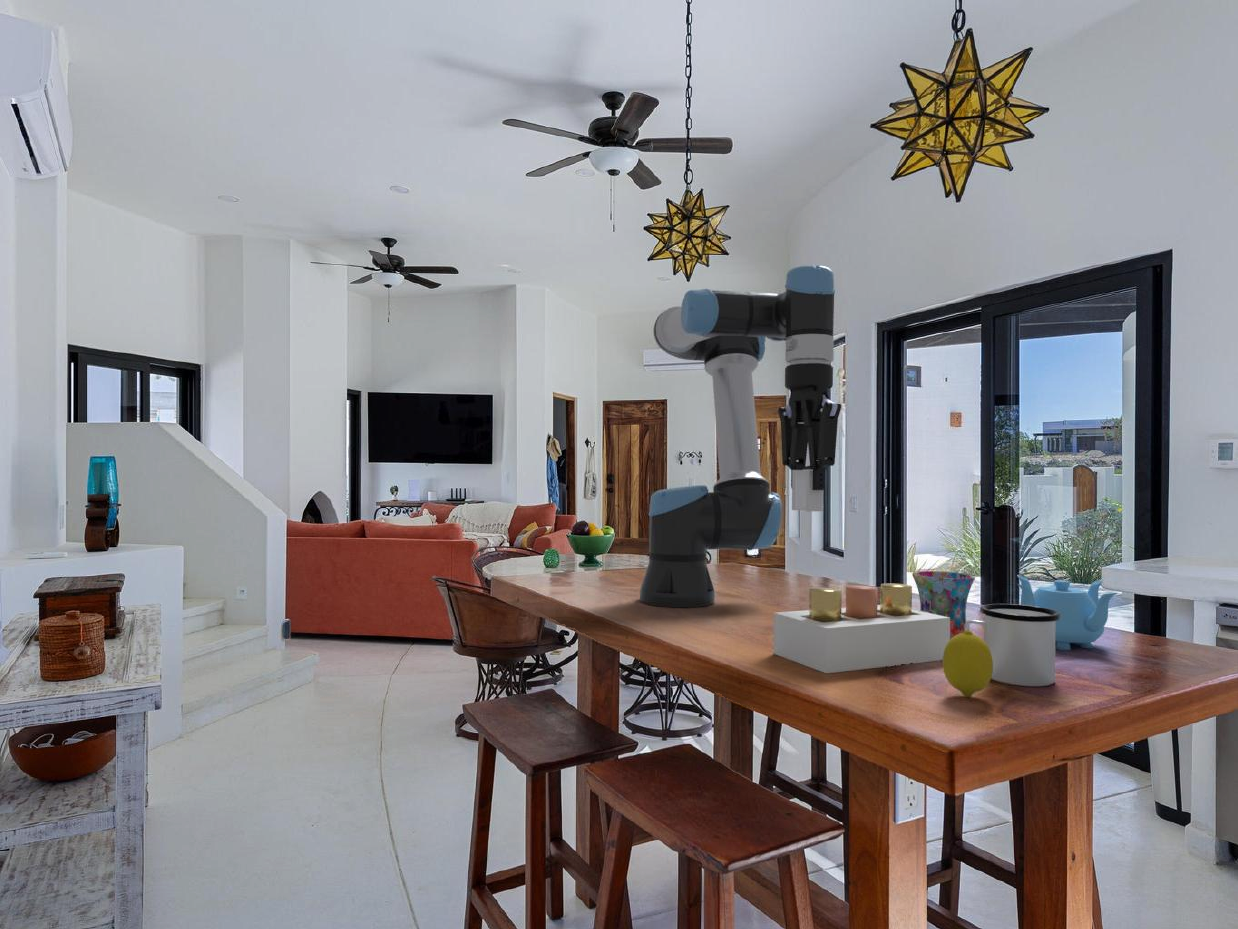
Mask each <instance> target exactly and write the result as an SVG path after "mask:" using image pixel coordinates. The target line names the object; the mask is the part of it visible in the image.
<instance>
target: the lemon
mask: <svg viewBox="0 0 1238 929" xmlns="http://www.w3.org/2000/svg"><path fill="white" fill-rule="evenodd" d="M942 670H943V674H944V676H945V678H946V681H948V683H949V684H950V686H952V687H953V688H954V689H956V690H958V691H959V692H960V693H961V694H962V695H963V696H964V697H966V698H970V697H972V696H973V695H974V694H975V693H977V692H981V691H982V690H985V688H986V687H987V686H988V685H989V683H990V682H991V680H992V679H991V677H992V673H993V660H992V655H991V652H990V649H989V647H988V645H987V644H986V642H985V641H984V639H983V638H981V637H980V636H978V635H977V634H974V633H973V631H972V630H969V631H968V630H966V631H964V632H963V633H961V634H958V635H956V636H954V637H953V638H951V639H950V640H949V642H948V643H947V645H946V647H945V650H944V655H943V660H942Z"/></svg>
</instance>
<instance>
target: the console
mask: <svg viewBox="0 0 1238 929" xmlns="http://www.w3.org/2000/svg"><path fill="white" fill-rule="evenodd" d="M949 640H950V618H949V617H945V616H940V615H936V614H932V613H927V612H923V611H920V610H917V609H914V608H912V615H909V616H897V617H894V616H890V615H886V614H882V613H880V604H877V618H872V619H860V620H859V619H855V618H852V617H848V616H846V606H845V607H841V621H836V622H824V623H822V622H818V621H815V620H811V619H809V609H806V610H793V611H792V610H791V611H780V612H779V611H778V612H773V654H774V655H777V656H779V657H782V658H784V659H787V660H789V661H793V662H794V663H798V664H801V665H803V666H805V667H809V668H812V669H813V670H817V671H819V672H822V673H825V674H833V673H842V672H843V673H844V672H850V671H851V672H852V671H859V670H868V669H877V668H886V666H887V667H892V666H893V667H895V665H896V666H902V665H901V664H905V665H910V663H913V664H920V663H921V664H923V663H929V662H930V663H931V662H938V661H943V655H944V650H945V647H946V645H947V643H948V642H949Z"/></svg>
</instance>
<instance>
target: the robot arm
mask: <svg viewBox="0 0 1238 929" xmlns="http://www.w3.org/2000/svg"><path fill="white" fill-rule="evenodd" d="M785 279H786V280H785V285H784V288H785V291H784V292H782V293H779V292H778V293H777V292H758V291H755V292H754V291H753V292H752V291H727V290H713V289H708V288H703V289H690V290H687V291H686V292H685V294H684V295H683V296H684V297H683V299H682V302H681V306H672V307H670V308H667V309H666V310H663V311H662V312H661V313H660V314H659V315H658V316H657V318H656V319H655V322H654V323H653V324H654V325H653V338H654V340H655V342H656V344H657V345H658V347H659V348H660V349H661V351H663V352H665V353H666V354H668V355H670V356H673V357H674V358H677V359H681V360H686V361H687V360H688V361H701V362H703V363H704V364H703V365H704V371H705V372H706V373H707V375H710V377H711V378H712V389H713V402H714V404H713V405H714V415H715V429H716V430H715V431H716V443H717V444H716V445H717V456H718V458H717V460H718V472H719V473H718V474H719V479H718V480H717V481H716V482H715V483H714V484H713V487H712V488H713V492H710V491H709V488H708V486H706V485H689V486H679V487H671V488H665V489H658V490H657V491H654V492H653V493H652V495H651V496H650V501H649V502H650V503H649V510H648V511H649V512H648V517H649V533H648V534H649V535H648V536H649V539H648V540H649V543H648V545H649V548H648V553H649V554H648V564H647V566H646V571H645V574H644V577H643V580H642V582H641V586H640V590H639V601H640V602H641V603H644V604H648V605H652V606H656V607H657V606H658V607H668V608H671V607H672V608H697V607H705V606H710V605H713V604H715V601H716V600H715V599H716V597H715V596H716V595H715V587H714V585H713V582H712V578H711V574H710V572H709V568H708V565H707V552H708V550H748V551H752V550H765V549H768V548H770V547H772V546H773V545H774V543H775V542H776V541H777V539H778V536H779V533H780V530H781V525H782V520H783V519H782V518H783V502H782V499H781V496H780V495H779V493H776V492H774V491H771V486H770V481H769V480H768V479H766V478H765V477H764V476H762V472H761V460H760V459H761V458H760V450H759V439H758V438H759V436H758V428H757V427H758V426H757V416H756V415H757V414H756V405H755V395H754V382H753V374H752V373H753V372H754V371H755V370H756V369H757V368H758V366H759V362H760V361H762V359H763V358H764V355H765V350H766V344H765V342H766V338H767V339H769V340H771V341H775V342H785V362H786V363H787V364H788V365H786V367H785V368H784V386H785V389H786V390H789V391H790V393H789V394H790V395H789V398H788V404H787V405H786V406H784V407H782V406H781V407H778V410H777V412H778V417H779V420H780V434H781V436H780V437H781V459H782V465H783V466H787V467H789V470H790V472H791V473H790V474H791V476H790V488H791V510H792V511H805V512H823V510H824V509H823V508H824V507H823V506H824V505H823V504H824V503H823V502H824V501H823V500H824V499H823V498H824V492H823V491H824V490H825V478H826V477H825V476H826V475H825V474H826V473H825V472H826V470H828V468H829V467H833V466H835V464H836V463H835V462H836V461H835V460H836V449H837V448H836V447H837V436H838V424H839V423H838V421H839V417H840V413H841V410H842V404H841V403H840V402H834V401H832V400H830V394H829V390H830V389H832V388H833V386H834V367H833V365H831V363H832V362H834V360H835V359H834V357H835V356H834V355H835V353H834V352H835V351H834V350H835V349H834V347H835V346H834V345H835V344H834V341H835V340H834V339H835V338H834V322H835V321H834V319H835V318H834V316H835V315H834V314H835V293H836V289H835V281H834V280H835V278H834V272H833V270H832V269H831V268H830V267H828V266H824V265H814V264H813V265H812V264H811V265H809V264H808V265H800V266H797V267H794V268H792V269H790V270H788V272H787V273H786V278H785ZM807 454H808V458H809V465H807V462H806V461H807Z"/></svg>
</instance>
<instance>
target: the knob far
mask: <svg viewBox="0 0 1238 929" xmlns="http://www.w3.org/2000/svg"><path fill="white" fill-rule="evenodd" d="M912 600H913V586H912V585H910V584H903V583H891V582H889V583H886V582H885V583H881V584H880V601H879V605H880V613H882V614H886V615H890V616H894V617H897V616H909V615H912V609H913V605H912V604H913V603H912Z"/></svg>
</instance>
